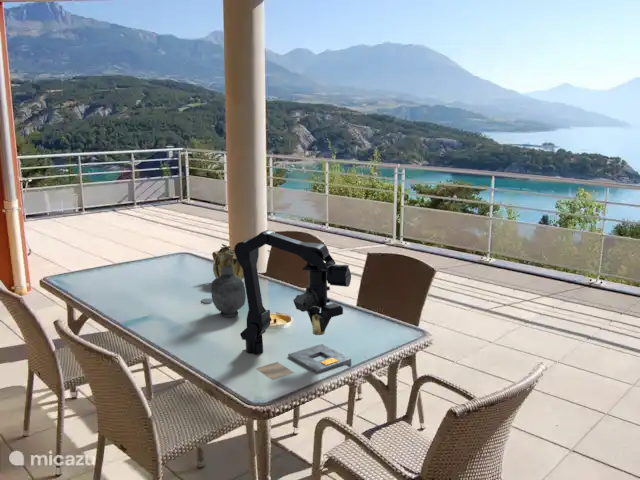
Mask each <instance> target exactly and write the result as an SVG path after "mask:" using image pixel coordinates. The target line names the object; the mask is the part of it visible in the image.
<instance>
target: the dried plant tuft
mask: <svg viewBox="0 0 640 480" xmlns="http://www.w3.org/2000/svg"><path fill="white" fill-rule="evenodd" d="M218 251H219V250H216V251H215V250H214V251H212V253H211V255H212V258H213V263H212V269H213V270H212V272H213V275H214V277H215V279H216V278H217V277H218V275H217V271H216V268H215V256H216V255H217V254H218ZM218 267H219V268H218V269H219V275H220V276H221V267H220V258H218ZM233 275H236V276H238V277H239V278H240V279H241V280H242V281H243V280H244V276H243V269H242V267H241V265H240V264H239V263H238V261H237V259H236V257H233Z"/></svg>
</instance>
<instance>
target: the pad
mask: <svg viewBox="0 0 640 480" xmlns="http://www.w3.org/2000/svg"><path fill="white" fill-rule="evenodd" d="M255 369H256V370H257V371H259V372H260V373H262V374H263V375H265V376H266V377H268V378H269V379H271V381H273V380H276V379H279V378H283V377H285V376H288V375H291V374H294V373H295V372H294V371H293V370H291V369H290V368H288V367H286V366H285V365H283V364H281V363H280V362H278V361H276V362H273V363H269V364H267V365H266V364H265V365H263V366H259V367H257V368H255Z"/></svg>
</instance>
